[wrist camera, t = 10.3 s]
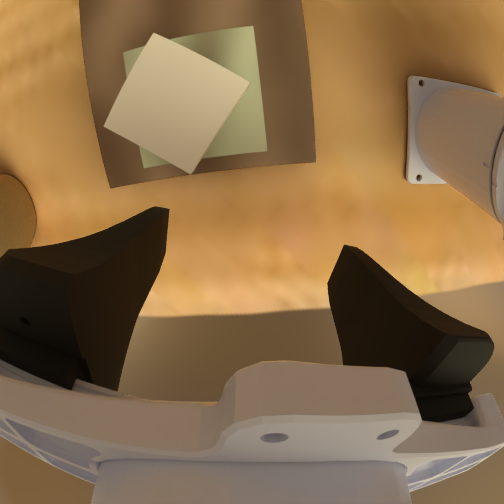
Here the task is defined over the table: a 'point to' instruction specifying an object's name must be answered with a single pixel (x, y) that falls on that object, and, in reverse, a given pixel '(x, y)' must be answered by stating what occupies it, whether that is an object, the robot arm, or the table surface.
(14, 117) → the table surface
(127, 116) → the beige stacked cube
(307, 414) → the robot arm
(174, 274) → the table surface
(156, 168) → the post board
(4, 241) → the plant pot
